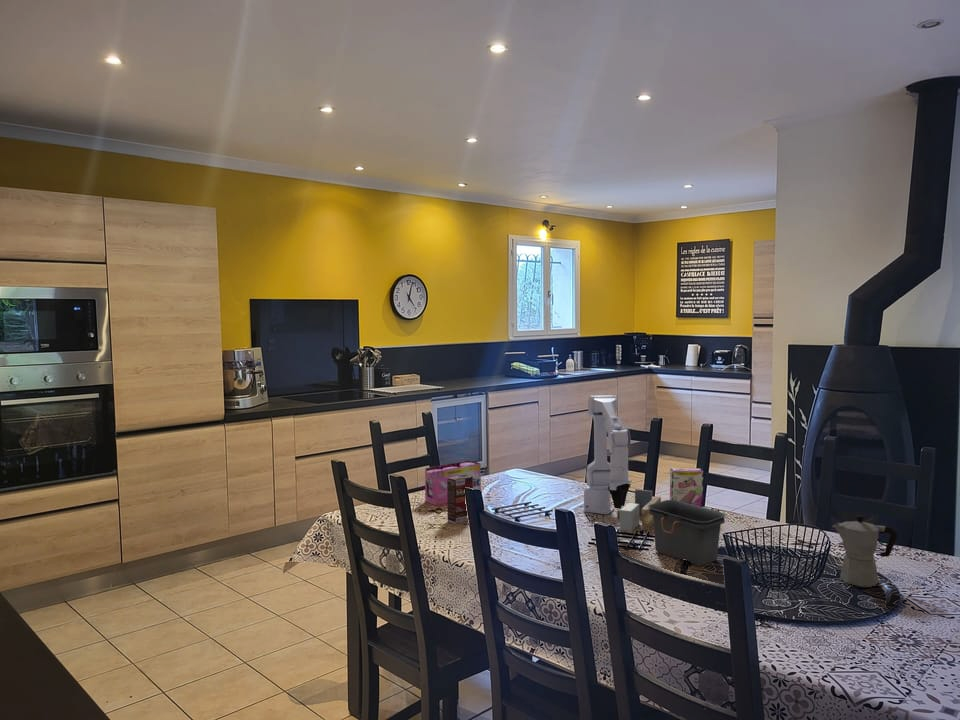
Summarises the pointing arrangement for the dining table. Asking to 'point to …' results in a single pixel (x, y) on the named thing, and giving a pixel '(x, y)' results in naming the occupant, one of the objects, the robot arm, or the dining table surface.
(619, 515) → the walnut block
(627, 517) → the boxed book
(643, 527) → the shelf wall
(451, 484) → the supplement box
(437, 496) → the gum box
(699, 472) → the candy bar box
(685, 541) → the storage bin
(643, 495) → the bookend
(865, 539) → the coffeepot
